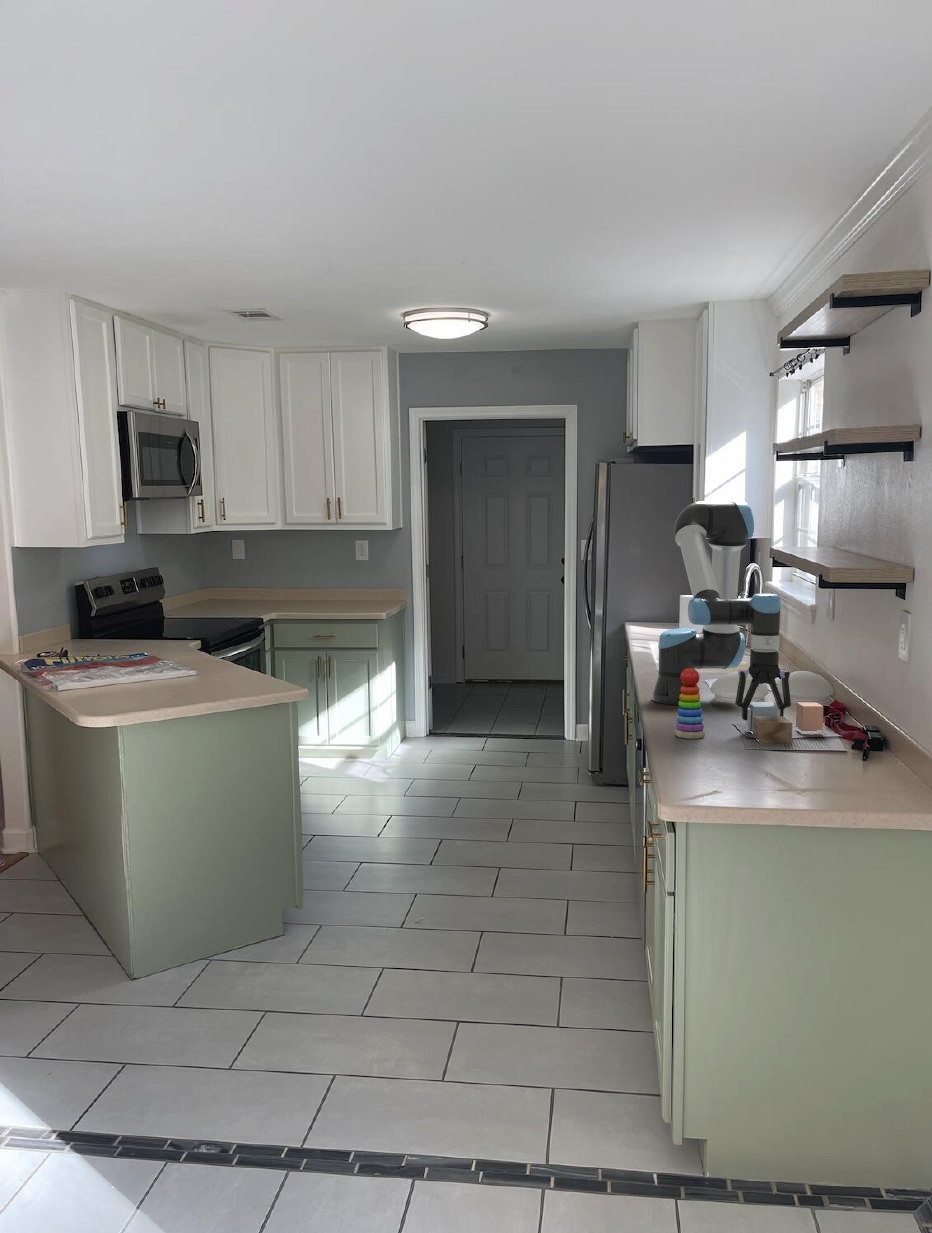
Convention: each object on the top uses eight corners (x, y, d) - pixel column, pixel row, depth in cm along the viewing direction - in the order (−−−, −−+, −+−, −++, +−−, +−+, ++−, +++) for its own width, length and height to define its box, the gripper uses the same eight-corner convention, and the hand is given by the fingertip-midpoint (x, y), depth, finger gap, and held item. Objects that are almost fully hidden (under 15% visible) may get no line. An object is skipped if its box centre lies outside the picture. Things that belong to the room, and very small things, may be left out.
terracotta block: (802, 734, 266) (803, 706, 265) (795, 730, 271) (796, 702, 271) (822, 734, 266) (823, 706, 265) (815, 730, 271) (816, 702, 270)
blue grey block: (753, 735, 266) (754, 706, 265) (746, 729, 272) (747, 702, 271) (777, 735, 266) (778, 706, 265) (770, 730, 272) (771, 702, 271)
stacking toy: (707, 734, 266) (709, 667, 264) (701, 740, 259) (703, 671, 257) (678, 731, 270) (680, 665, 268) (672, 737, 262) (673, 669, 260)
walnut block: (761, 744, 255) (761, 722, 254) (752, 737, 263) (753, 716, 262) (791, 745, 255) (792, 722, 254) (782, 738, 263) (783, 716, 262)
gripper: (731, 651, 263) (729, 734, 265) (806, 651, 262) (803, 734, 265) (724, 648, 270) (722, 728, 273) (797, 648, 270) (794, 728, 272)
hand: (762, 731), depth 269 cm, fingers open, 7 cm apart
